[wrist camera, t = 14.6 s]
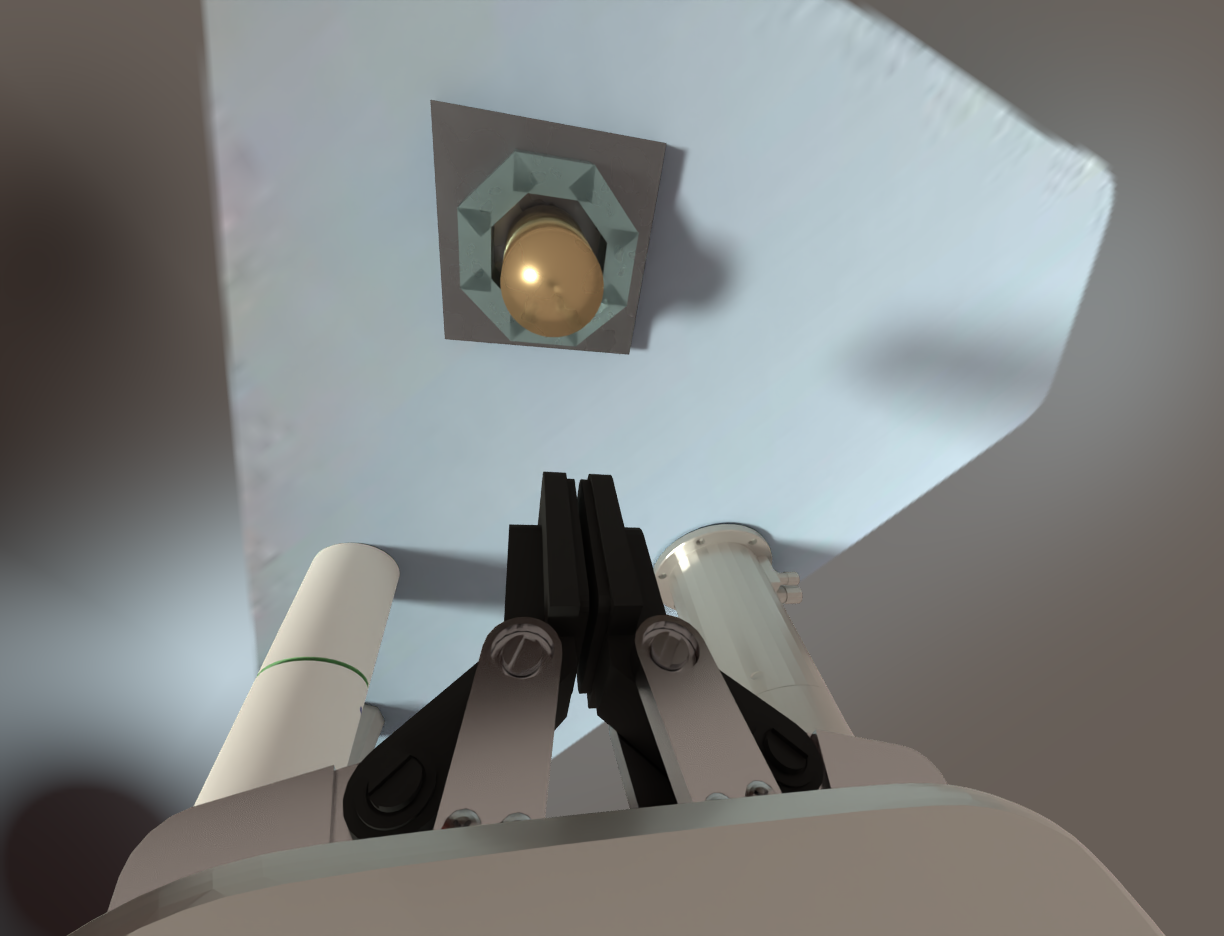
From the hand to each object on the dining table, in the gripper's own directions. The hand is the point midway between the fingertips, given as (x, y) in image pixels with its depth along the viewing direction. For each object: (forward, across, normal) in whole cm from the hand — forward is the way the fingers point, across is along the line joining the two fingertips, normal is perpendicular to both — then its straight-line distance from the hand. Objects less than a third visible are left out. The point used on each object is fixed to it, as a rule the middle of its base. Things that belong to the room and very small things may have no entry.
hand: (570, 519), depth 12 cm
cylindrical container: (+23, +15, +27) cm, 38 cm away
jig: (+22, 0, -2) cm, 23 cm away
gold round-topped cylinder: (+21, 0, -2) cm, 21 cm away
